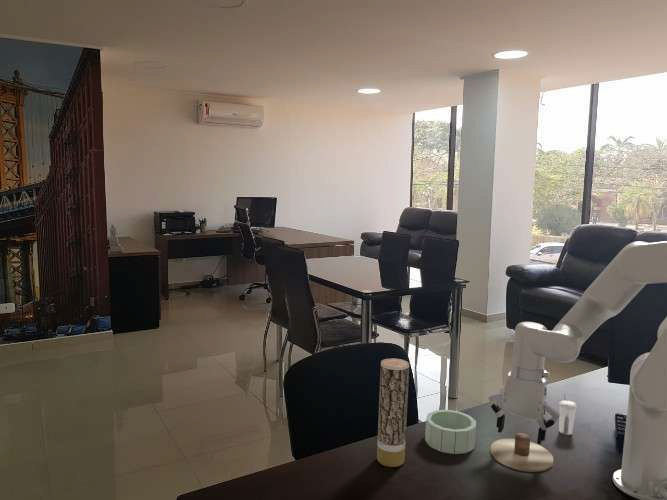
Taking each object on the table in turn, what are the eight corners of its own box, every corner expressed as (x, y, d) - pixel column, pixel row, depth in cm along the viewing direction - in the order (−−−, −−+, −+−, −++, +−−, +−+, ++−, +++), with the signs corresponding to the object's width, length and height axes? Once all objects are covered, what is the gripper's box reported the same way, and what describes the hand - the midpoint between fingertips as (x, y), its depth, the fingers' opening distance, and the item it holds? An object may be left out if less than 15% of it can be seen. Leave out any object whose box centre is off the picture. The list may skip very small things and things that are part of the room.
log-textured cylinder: (382, 470, 125) (386, 368, 122) (372, 455, 132) (376, 359, 128) (408, 466, 127) (413, 366, 124) (398, 452, 133) (402, 357, 130)
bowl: (483, 451, 135) (485, 429, 135) (437, 455, 132) (438, 433, 132) (461, 428, 148) (462, 408, 147) (418, 432, 145) (419, 411, 144)
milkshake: (570, 428, 150) (572, 394, 149) (576, 437, 145) (579, 402, 144) (553, 427, 151) (556, 393, 149) (559, 435, 145) (562, 401, 144)
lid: (566, 470, 128) (568, 448, 128) (511, 475, 125) (513, 453, 124) (529, 440, 143) (531, 421, 142) (479, 445, 139) (481, 425, 138)
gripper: (566, 376, 130) (558, 441, 132) (496, 360, 139) (490, 421, 141) (561, 385, 123) (553, 453, 126) (488, 367, 133) (481, 431, 135)
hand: (519, 436), depth 133 cm, fingers open, 9 cm apart
